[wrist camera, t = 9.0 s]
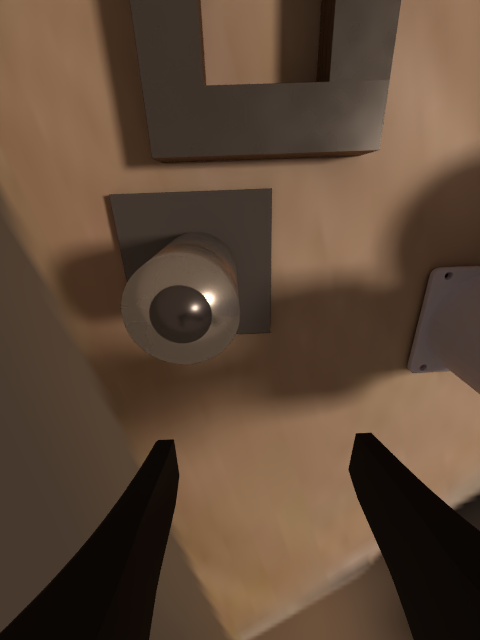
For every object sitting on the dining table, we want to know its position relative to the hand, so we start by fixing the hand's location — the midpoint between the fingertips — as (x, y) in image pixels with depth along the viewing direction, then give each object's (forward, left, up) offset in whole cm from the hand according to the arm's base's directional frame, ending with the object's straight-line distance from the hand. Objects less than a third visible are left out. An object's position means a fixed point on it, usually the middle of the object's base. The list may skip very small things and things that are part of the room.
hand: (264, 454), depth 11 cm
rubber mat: (+3, -5, -10) cm, 12 cm away
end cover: (+3, -5, -9) cm, 11 cm away
